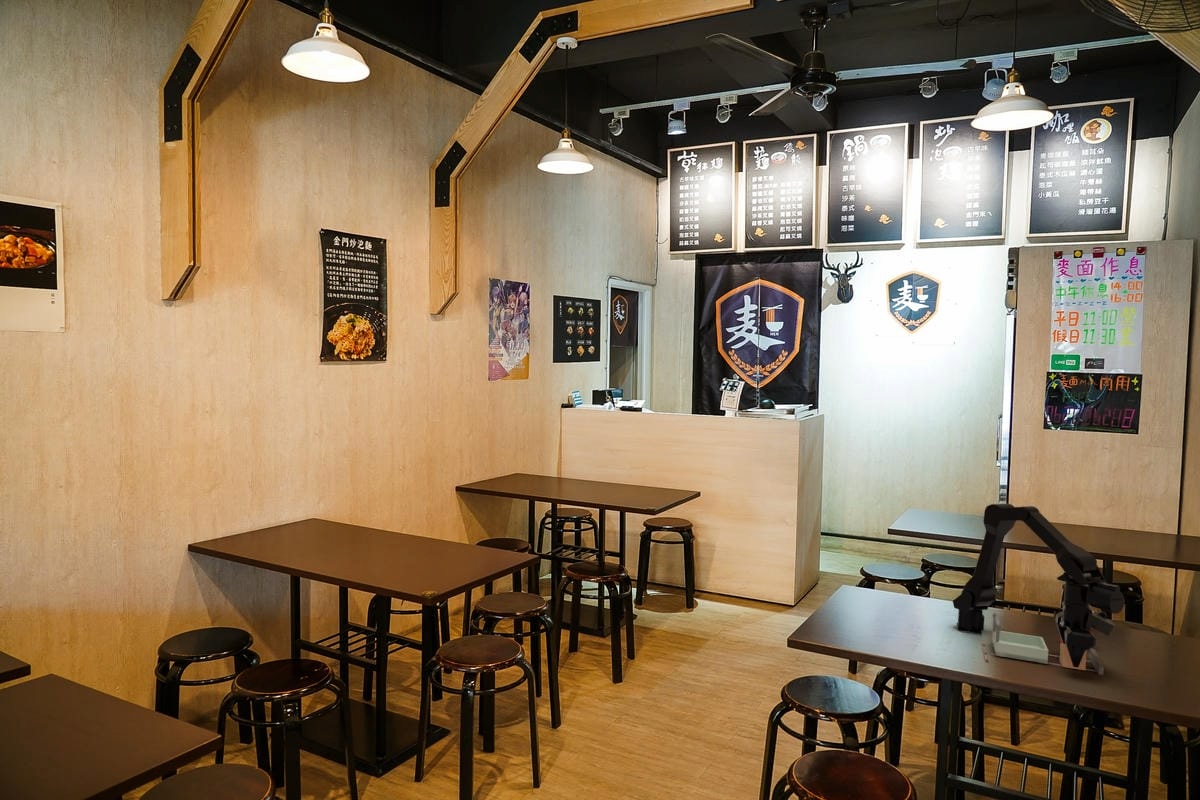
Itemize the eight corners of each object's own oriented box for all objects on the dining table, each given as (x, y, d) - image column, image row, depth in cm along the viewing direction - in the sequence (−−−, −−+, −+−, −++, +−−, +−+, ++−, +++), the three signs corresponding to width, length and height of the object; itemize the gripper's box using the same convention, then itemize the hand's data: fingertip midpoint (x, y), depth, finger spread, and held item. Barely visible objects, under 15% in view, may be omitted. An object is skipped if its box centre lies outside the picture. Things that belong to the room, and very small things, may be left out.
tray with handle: (994, 656, 206) (996, 624, 205) (990, 643, 216) (992, 612, 215) (1047, 665, 201) (1049, 632, 201) (1041, 651, 211) (1043, 619, 211)
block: (1062, 666, 200) (1063, 647, 200) (1059, 662, 204) (1060, 643, 205) (1085, 670, 198) (1086, 650, 198) (1081, 665, 202) (1082, 646, 203)
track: (985, 662, 204) (986, 648, 204) (981, 642, 219) (982, 629, 219) (1105, 682, 194) (1106, 667, 194) (1092, 660, 209) (1093, 646, 209)
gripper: (1122, 617, 189) (1117, 680, 189) (1105, 596, 206) (1101, 654, 207) (1069, 609, 193) (1064, 671, 194) (1057, 590, 210) (1053, 647, 211)
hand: (1072, 660), depth 201 cm, fingers open, 9 cm apart
